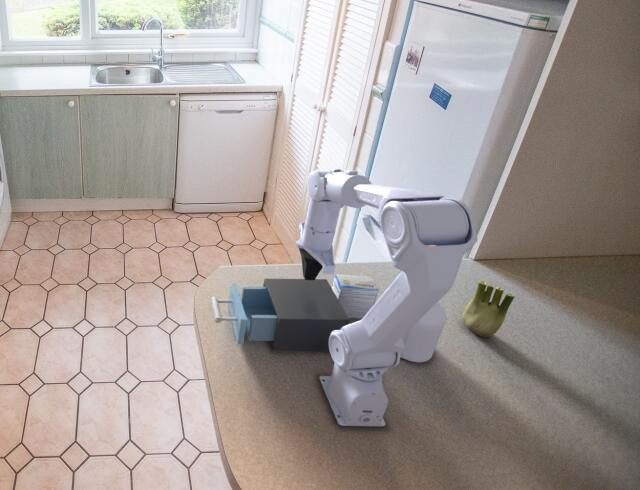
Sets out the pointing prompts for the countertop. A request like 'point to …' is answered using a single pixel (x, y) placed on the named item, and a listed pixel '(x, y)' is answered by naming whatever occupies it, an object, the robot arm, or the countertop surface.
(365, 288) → the medicine box
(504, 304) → the fennel bulb
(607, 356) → the countertop surface
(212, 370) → the countertop surface
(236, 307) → the blue drawer
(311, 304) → the dark grey drawer cabinet
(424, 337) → the soap bottle
